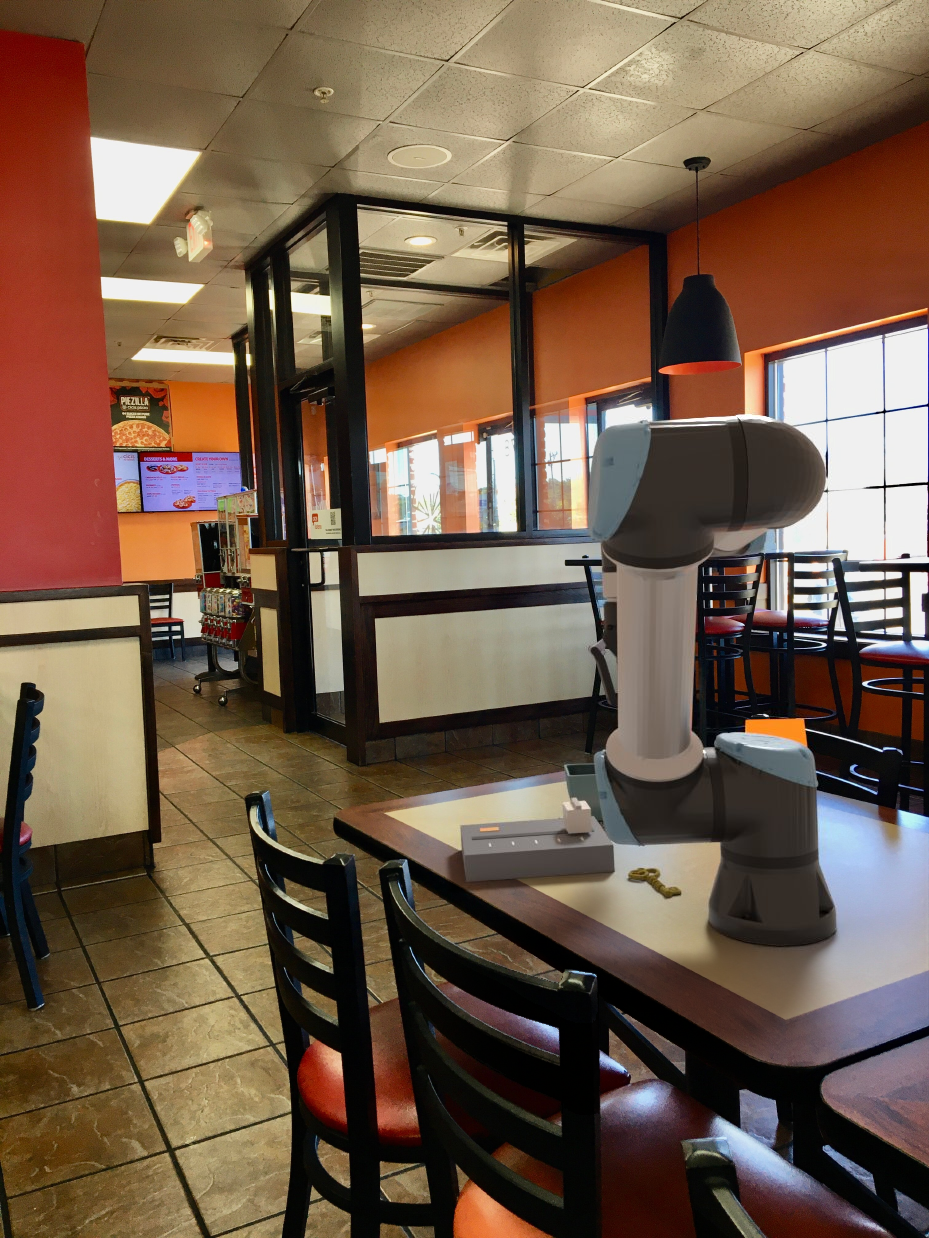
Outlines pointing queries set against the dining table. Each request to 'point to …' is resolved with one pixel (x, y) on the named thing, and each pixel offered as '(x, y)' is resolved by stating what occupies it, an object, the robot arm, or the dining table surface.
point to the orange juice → (779, 728)
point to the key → (653, 880)
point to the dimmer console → (533, 850)
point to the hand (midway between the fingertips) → (634, 749)
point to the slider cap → (577, 816)
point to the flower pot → (584, 786)
